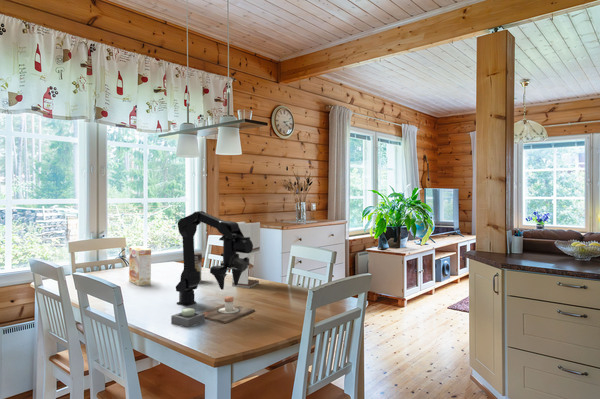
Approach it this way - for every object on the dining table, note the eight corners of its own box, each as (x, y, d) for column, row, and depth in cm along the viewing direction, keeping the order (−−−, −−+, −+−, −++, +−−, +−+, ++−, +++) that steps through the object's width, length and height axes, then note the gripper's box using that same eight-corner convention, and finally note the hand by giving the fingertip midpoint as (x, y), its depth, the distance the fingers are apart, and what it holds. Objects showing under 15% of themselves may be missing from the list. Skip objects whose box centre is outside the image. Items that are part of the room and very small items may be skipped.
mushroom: (222, 310, 174) (222, 297, 174) (228, 308, 178) (228, 295, 178) (229, 311, 172) (229, 299, 172) (235, 309, 176) (235, 297, 176)
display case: (249, 288, 219) (250, 223, 219) (232, 286, 223) (233, 222, 223) (258, 284, 230) (260, 222, 229) (242, 282, 234) (243, 221, 233)
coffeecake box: (128, 281, 230) (128, 246, 230) (141, 279, 235) (141, 245, 235) (138, 286, 219) (138, 250, 219) (151, 284, 224) (151, 249, 223)
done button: (178, 315, 160) (178, 310, 160) (188, 312, 164) (188, 307, 164) (188, 317, 158) (188, 312, 158) (197, 314, 162) (197, 309, 162)
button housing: (171, 323, 159) (171, 315, 159) (188, 317, 167) (188, 310, 167) (188, 327, 155) (188, 319, 155) (204, 321, 163) (204, 313, 163)
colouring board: (195, 316, 169) (195, 314, 169) (226, 305, 186) (226, 303, 186) (225, 323, 161) (225, 320, 161) (254, 311, 178) (254, 308, 178)
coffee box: (184, 283, 228) (185, 254, 228) (185, 280, 235) (185, 252, 234) (201, 282, 231) (202, 254, 230) (201, 279, 237) (201, 252, 237)
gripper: (230, 255, 162) (229, 294, 163) (257, 250, 179) (257, 285, 179) (209, 253, 168) (208, 290, 168) (237, 248, 184) (237, 282, 184)
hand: (229, 287), depth 175 cm, fingers open, 9 cm apart
